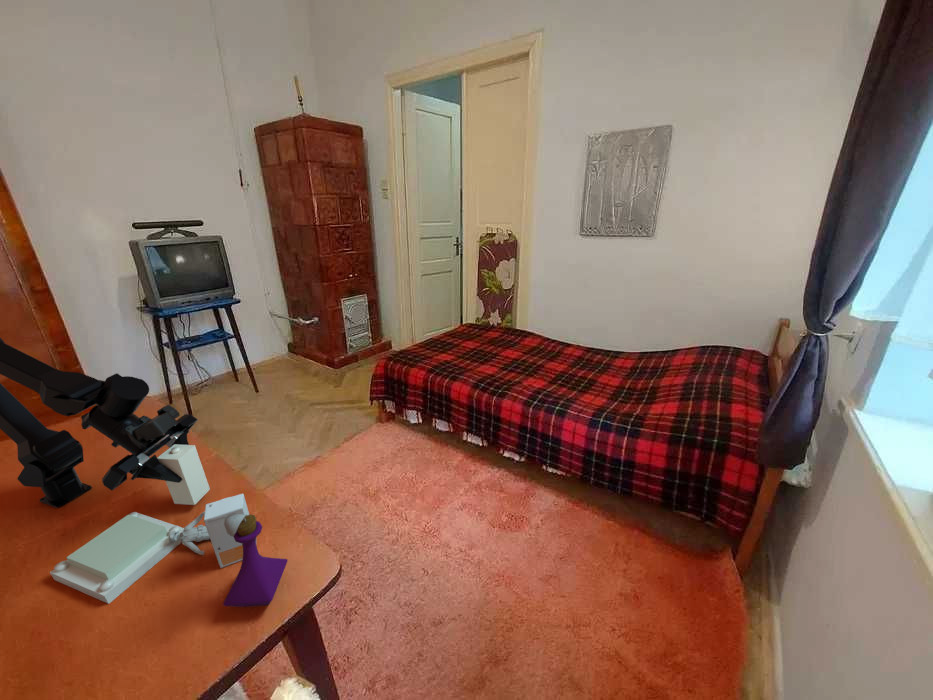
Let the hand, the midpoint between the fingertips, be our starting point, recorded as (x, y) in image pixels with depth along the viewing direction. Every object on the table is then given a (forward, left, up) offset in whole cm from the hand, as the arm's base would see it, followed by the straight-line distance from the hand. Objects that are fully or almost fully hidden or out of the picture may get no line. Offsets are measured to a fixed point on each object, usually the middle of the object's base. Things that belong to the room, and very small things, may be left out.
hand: (190, 472), depth 80 cm
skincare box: (+19, -7, -9) cm, 22 cm away
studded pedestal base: (-1, -14, -8) cm, 17 cm away
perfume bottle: (+29, -12, -9) cm, 32 cm away
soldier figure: (+11, -6, -9) cm, 15 cm away
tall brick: (-1, 0, -7) cm, 7 cm away
